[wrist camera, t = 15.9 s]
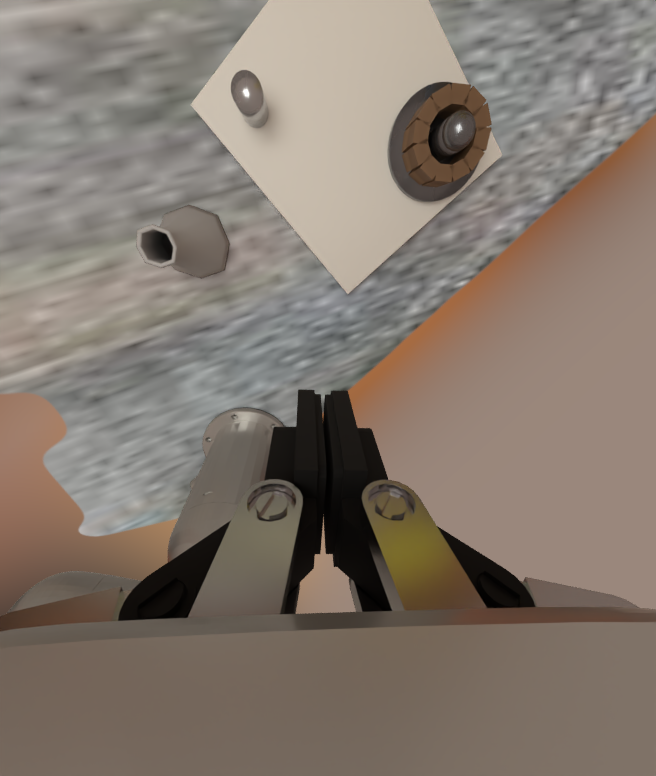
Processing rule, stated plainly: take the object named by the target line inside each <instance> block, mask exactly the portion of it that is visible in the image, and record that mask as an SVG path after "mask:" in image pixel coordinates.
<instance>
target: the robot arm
mask: <svg viewBox="0 0 656 776" xmlns="http://www.w3.org/2000/svg"><path fill="white" fill-rule="evenodd" d="M202 444H203V451H204V453H205V456H206V459H205V461H204V463H203V465H202V467H201V470H200V472H199V474H198V476H197V477H195V478H194V479H193V480H192V481H191V482H190V487H191V488H192V490H191V492H190V494H189V496H188V499H187V501H186V503H185V505H184V507H183V510H182V512H181V514H180V516H179V519H178V521H177V523H176V525H175V527H174V529H173V532H172V534H171V537H170V541H169V546H168V563H167V564H165V565H164V566H162V567H161V568H159V569H158V570H156V571H155V572H153V573H152V574H151V575H149V576H147V577H146V578H145V579H144V580H143V581H138V580H133V579H128V578H122V577H117V576H112V575H104V574H98V573H91V572H82V571H73V572H64V573H59V574H56V575H53V576H51V577H48V578H46V579H44V580H42V581H41V582H39V583H37V584H36V585H35V586H33V587H32V588H31V589H30V590H28V591H27V592H26V593H25V594H24V595H23V596H22V597H21V598H20V599H19V600H18V601H17V602H16V603H15V604H14V605H13V606H12V608H11V609H10V610H9V611H8V612H7V614H4V615H2V616H0V776H656V610H655V609H646V608H639V607H637V606H636V605H634V604H632V603H631V602H629V601H627V600H625V599H622V598H620V597H617V596H614V595H610V594H605V593H600V592H595V591H591V590H586V589H581V588H576V587H571V586H566V585H561V584H557V583H551V582H547V581H542V580H537V579H532V578H527V577H525V579H524V581H523V582H522V581H519V580H518V579H517V578H516V577H515V576H514V575H512V574H511V573H510V572H509V571H507V570H506V569H504V568H503V567H501V566H499V565H498V564H496V563H495V562H493V561H492V560H490V559H488V558H487V557H485V556H483V555H482V554H480V553H479V552H477V551H476V550H474V549H472V548H471V547H469V546H468V545H466V544H464V543H463V542H461V541H460V540H458V539H456V538H455V537H453V536H451V535H450V534H449V533H447V532H445V531H444V530H442V529H441V528H439V527H437V526H436V524H435V522H434V521H433V519H432V518H431V516H430V515H429V513H428V511H427V509H426V508H425V506H424V505H423V503H422V502H421V500H420V498H419V497H418V496H417V495H416V493H415V492H414V491H413V490H412V489H410V488H409V487H408V486H406V485H404V484H402V483H400V482H396V481H392V480H388V477H387V474H386V471H385V468H384V465H383V462H382V459H381V456H380V453H379V450H378V447H377V444H376V441H375V438H374V435H373V432H372V430H371V429H370V428H357V425H356V421H355V417H354V414H353V410H352V406H351V402H350V398H349V394H348V391H331V395H325V403H324V418H322V406H321V395H320V394H315V393H314V390H298V407H297V426H296V427H284V426H283V424H282V423H281V422H280V421H279V420H277V419H276V418H275V417H273V416H272V415H270V414H268V413H266V412H264V411H261V410H257V409H252V408H237V409H232V410H228V411H226V412H224V413H221V414H220V415H218V416H217V417H215V418H214V419H213V420H212V421H211V423H210V424H209V425H208V427H207V429H206V431H205V433H204V436H203V443H202ZM323 514H324V531H325V548H326V554H333V562H334V567H338V568H339V569H340V570H341V571H343V572H344V573H345V574H346V575H347V576H348V577H349V584H350V590H351V594H352V598H353V601H354V605H355V608H356V612H343V613H315V614H314V613H313V614H295V613H296V607H297V601H298V595H299V588H300V581H301V580H302V579H303V578H304V577H305V576H306V575H307V574H308V573H309V572H310V571H311V570H312V569H313V568H314V556H315V554H320V550H321V537H322V526H323Z"/></svg>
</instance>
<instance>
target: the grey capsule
mask: <svg viewBox="0 0 656 776" xmlns="http://www.w3.org/2000/svg"><path fill="white" fill-rule="evenodd" d="M231 94H232V97H233V100H234V102H235V103H236V105H237V107H238V109H239V111H240V112H241V114H242V116H243V118H244V120H245V121H246V123H247V124H248V125H249V126H251V127H253V128H261V127H262V126H264V125H265V124H266V122H267V120H268V116H269V110H268V106H267V103H266V99H265V96H264V93H263V90H262V87H261V84H260V81H259V79H258V78H257V77H256V75H255V74H254V73H252V72H251V71H248V70H241V71H238V72H237V73H236V74H235V75H234V77H233V79H232V81H231Z"/></svg>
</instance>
